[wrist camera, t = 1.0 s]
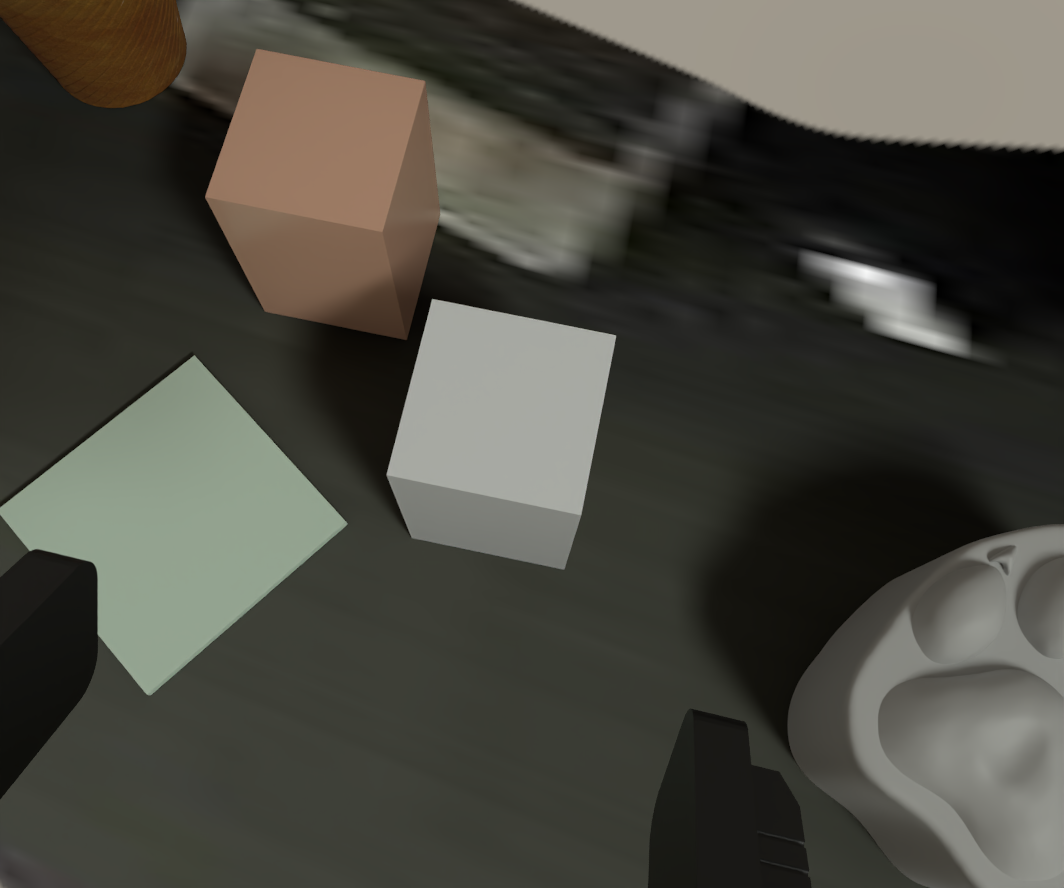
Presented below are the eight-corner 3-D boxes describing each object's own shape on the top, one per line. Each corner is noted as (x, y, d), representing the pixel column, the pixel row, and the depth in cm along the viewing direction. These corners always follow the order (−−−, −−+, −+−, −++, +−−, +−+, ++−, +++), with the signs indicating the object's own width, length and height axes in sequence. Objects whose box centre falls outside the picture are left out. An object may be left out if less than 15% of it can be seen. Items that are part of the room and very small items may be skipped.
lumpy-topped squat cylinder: (751, 720, 40) (816, 708, 32) (958, 501, 43) (1067, 437, 35) (956, 929, 38) (1082, 974, 30) (1159, 683, 41) (1325, 662, 33)
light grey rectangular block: (592, 424, 43) (616, 335, 34) (564, 569, 41) (580, 515, 32) (446, 394, 44) (432, 298, 35) (411, 537, 42) (386, 475, 33)
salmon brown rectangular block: (440, 213, 46) (425, 80, 37) (406, 340, 44) (382, 232, 35) (304, 187, 46) (256, 48, 38) (264, 311, 45) (205, 197, 36)
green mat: (347, 524, 42) (346, 522, 41) (150, 695, 39) (146, 694, 39) (197, 359, 44) (194, 355, 43) (1, 512, 42) (-4, 510, 41)
